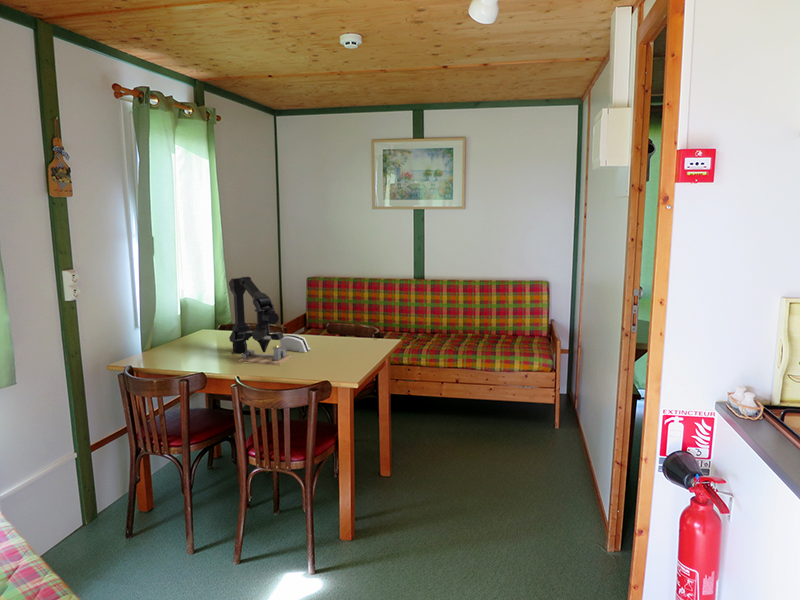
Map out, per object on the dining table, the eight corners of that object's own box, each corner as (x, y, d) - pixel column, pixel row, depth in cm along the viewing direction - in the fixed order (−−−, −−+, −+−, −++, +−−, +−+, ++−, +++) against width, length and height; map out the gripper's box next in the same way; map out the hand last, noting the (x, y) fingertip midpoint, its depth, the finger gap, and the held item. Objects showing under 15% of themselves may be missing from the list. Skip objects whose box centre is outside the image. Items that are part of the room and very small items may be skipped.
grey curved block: (311, 350, 302) (307, 334, 298) (306, 355, 298) (302, 339, 294) (286, 347, 310) (282, 331, 305) (281, 351, 306) (276, 336, 302)
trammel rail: (241, 358, 281) (241, 353, 280) (249, 354, 288) (248, 349, 288) (279, 361, 276) (279, 356, 276) (286, 356, 284) (286, 351, 284)
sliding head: (272, 360, 277) (272, 345, 276) (279, 355, 285) (279, 342, 284) (279, 360, 276) (279, 346, 275) (286, 356, 284) (285, 342, 283)
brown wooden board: (237, 362, 278) (237, 359, 278) (251, 355, 292) (251, 352, 291) (279, 365, 274) (279, 362, 273) (290, 357, 287) (290, 355, 287)
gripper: (237, 323, 271) (239, 355, 273) (273, 325, 267) (274, 357, 269) (248, 319, 282) (249, 349, 284) (283, 321, 278) (284, 351, 280)
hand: (264, 352), depth 279 cm, fingers closed
